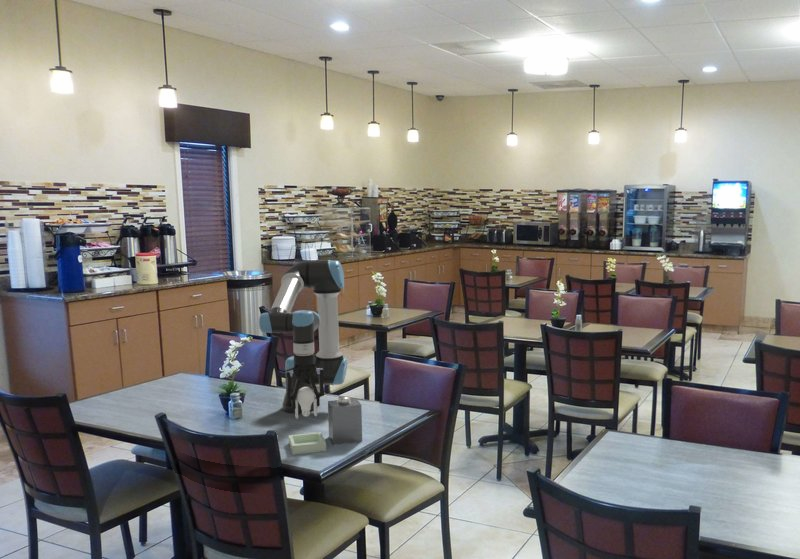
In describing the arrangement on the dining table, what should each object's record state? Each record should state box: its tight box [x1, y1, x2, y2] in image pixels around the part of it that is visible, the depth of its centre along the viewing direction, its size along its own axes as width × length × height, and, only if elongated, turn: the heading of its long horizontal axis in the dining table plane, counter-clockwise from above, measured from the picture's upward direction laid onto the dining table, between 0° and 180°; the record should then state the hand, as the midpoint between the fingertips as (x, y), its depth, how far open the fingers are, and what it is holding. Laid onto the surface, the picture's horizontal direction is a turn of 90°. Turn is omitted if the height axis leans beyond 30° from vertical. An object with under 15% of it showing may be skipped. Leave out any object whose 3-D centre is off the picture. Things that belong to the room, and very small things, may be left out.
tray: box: [288, 431, 327, 455], centre depth 250 cm, size 12×12×3 cm
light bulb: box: [296, 387, 316, 418], centre depth 249 cm, size 7×7×11 cm
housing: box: [327, 395, 363, 446], centre depth 258 cm, size 9×11×16 cm
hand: (306, 416), depth 249 cm, fingers closed on light bulb, 6 cm apart
